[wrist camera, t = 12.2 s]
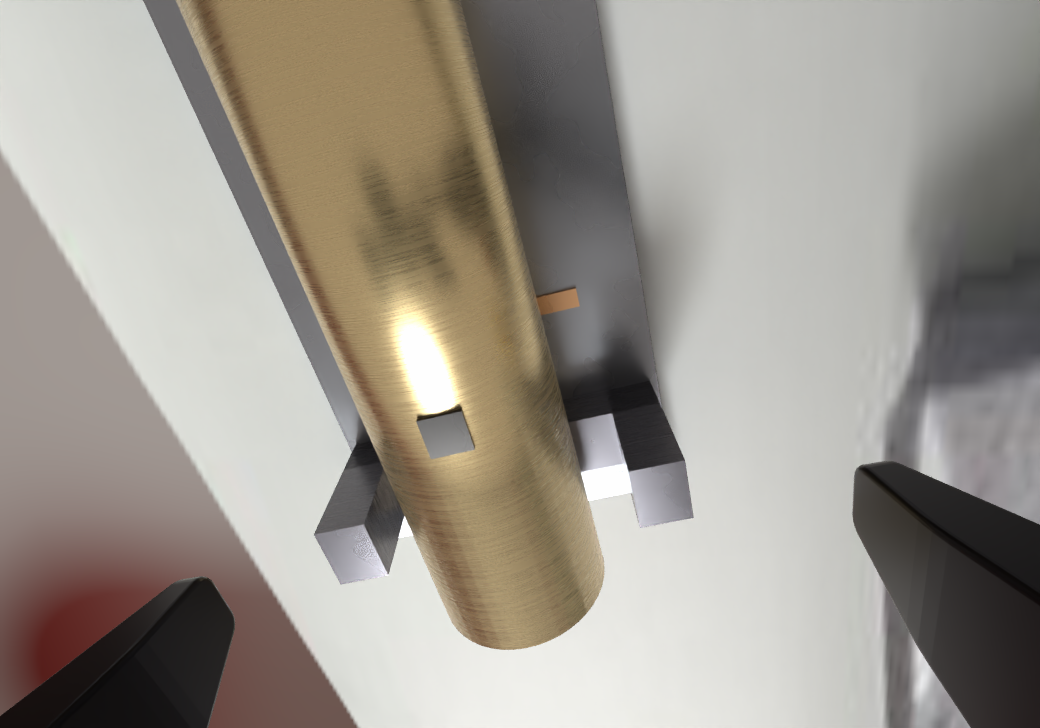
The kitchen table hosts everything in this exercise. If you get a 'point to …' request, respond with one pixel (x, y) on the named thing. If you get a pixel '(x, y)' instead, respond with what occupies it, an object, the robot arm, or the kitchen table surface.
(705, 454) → the kitchen table surface
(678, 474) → the collar cradle
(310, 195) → the tube
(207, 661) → the robot arm
